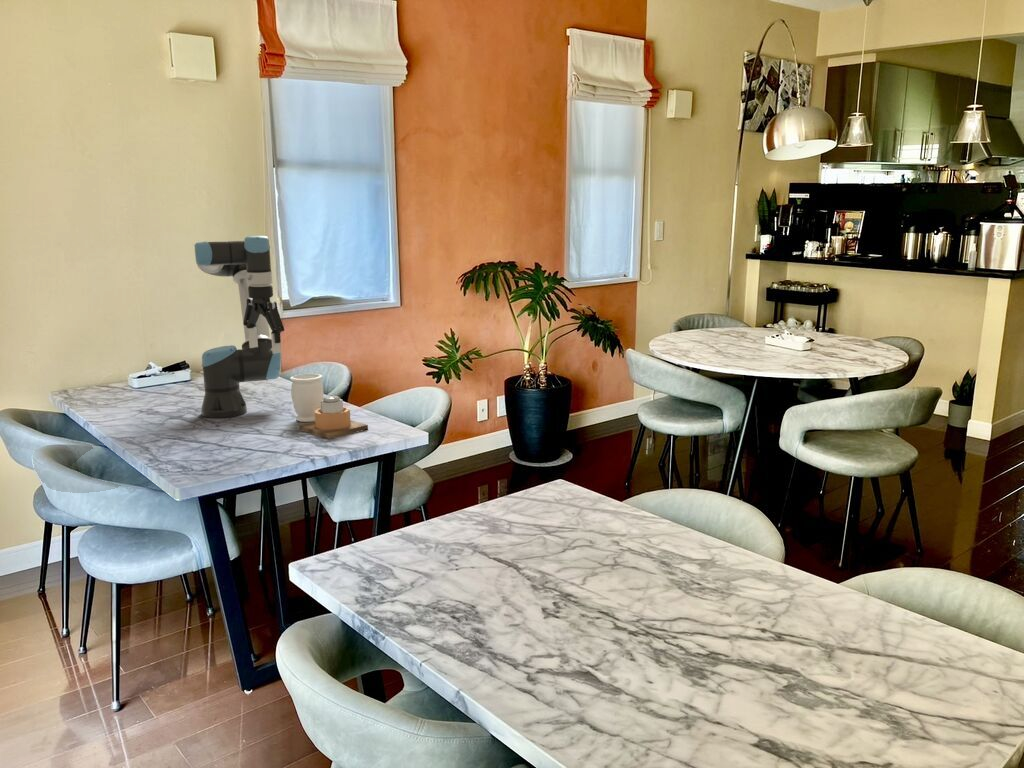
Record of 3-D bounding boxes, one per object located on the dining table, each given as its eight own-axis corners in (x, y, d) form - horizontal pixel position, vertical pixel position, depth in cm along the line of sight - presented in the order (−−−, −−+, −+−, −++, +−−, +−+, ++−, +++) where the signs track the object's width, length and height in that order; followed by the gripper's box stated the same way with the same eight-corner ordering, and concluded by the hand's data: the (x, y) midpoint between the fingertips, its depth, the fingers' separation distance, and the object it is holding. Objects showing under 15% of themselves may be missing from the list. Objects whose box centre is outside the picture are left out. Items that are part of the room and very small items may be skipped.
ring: (309, 425, 267) (308, 410, 266) (337, 418, 274) (336, 404, 273) (328, 431, 259) (327, 416, 258) (357, 424, 267) (356, 409, 266)
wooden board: (299, 429, 268) (298, 425, 267) (338, 420, 278) (337, 416, 278) (328, 439, 256) (328, 434, 256) (368, 429, 266) (367, 424, 266)
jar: (329, 415, 285) (326, 373, 282) (319, 423, 275) (316, 379, 272) (299, 415, 286) (296, 373, 283) (288, 423, 276) (285, 379, 273)
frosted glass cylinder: (317, 425, 267) (316, 398, 265) (336, 421, 272) (334, 394, 270) (330, 429, 262) (328, 401, 260) (348, 424, 267) (346, 397, 265)
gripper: (228, 283, 269) (234, 346, 274) (271, 289, 253) (276, 357, 258) (249, 280, 274) (254, 343, 279) (292, 287, 258) (297, 353, 263)
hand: (265, 350), depth 268 cm, fingers open, 13 cm apart
